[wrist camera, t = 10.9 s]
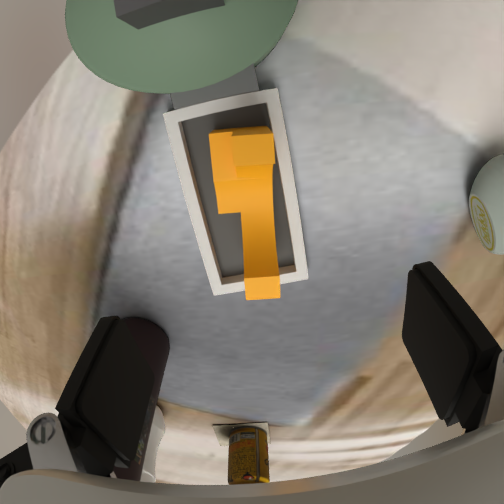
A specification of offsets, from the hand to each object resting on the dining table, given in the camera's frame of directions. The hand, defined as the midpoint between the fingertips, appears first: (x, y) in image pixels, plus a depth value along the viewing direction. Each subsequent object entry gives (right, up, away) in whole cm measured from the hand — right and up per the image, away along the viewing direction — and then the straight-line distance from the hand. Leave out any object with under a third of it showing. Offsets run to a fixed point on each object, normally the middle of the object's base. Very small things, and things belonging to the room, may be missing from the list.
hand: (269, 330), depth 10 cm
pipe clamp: (-1, +7, +17) cm, 19 cm away
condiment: (-2, -26, +35) cm, 44 cm away
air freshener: (+26, +9, +17) cm, 32 cm away
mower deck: (-4, +15, +13) cm, 20 cm away
